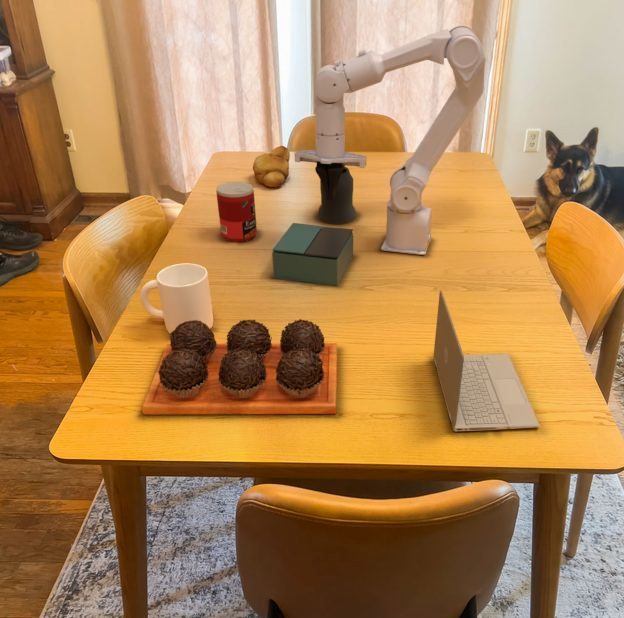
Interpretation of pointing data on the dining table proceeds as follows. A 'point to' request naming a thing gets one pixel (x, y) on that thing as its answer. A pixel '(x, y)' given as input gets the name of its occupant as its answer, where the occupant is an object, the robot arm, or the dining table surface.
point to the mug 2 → (338, 202)
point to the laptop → (478, 384)
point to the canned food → (236, 211)
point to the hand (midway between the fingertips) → (330, 197)
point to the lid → (329, 242)
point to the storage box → (308, 257)
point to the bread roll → (272, 167)
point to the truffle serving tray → (245, 372)
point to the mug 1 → (180, 295)
